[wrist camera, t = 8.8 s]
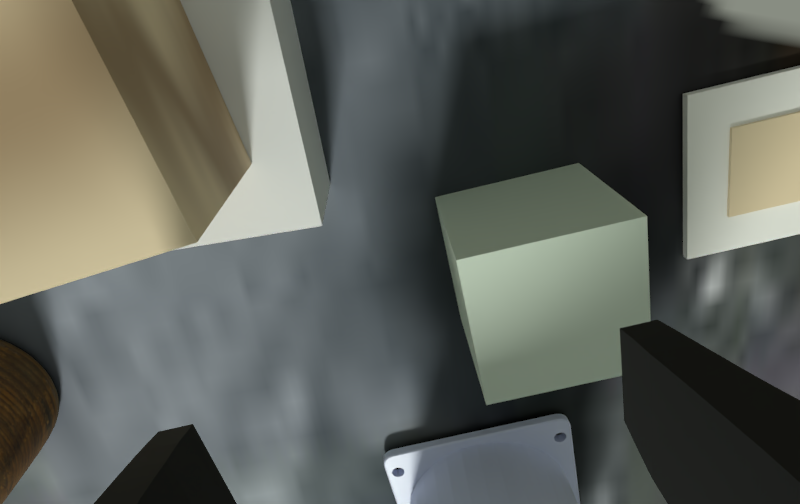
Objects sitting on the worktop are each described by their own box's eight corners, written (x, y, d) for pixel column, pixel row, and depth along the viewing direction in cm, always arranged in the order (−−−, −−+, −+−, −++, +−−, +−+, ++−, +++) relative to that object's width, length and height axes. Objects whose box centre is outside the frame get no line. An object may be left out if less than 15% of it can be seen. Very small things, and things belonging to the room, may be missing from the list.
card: (846, 218, 20) (856, 222, 19) (682, 256, 20) (689, 261, 20) (870, 48, 17) (882, 49, 17) (682, 93, 17) (689, 95, 17)
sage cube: (589, 287, 20) (651, 369, 16) (460, 316, 21) (486, 405, 16) (578, 162, 18) (647, 216, 14) (434, 196, 19) (456, 260, 14)
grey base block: (331, 180, 18) (322, 225, 15) (72, 223, 19) (1, 278, 15) (262, -136, 15) (227, -180, 11) (-64, -80, 15) (-204, -105, 11)
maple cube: (251, 163, 14) (196, 242, 9) (75, 220, 14) (-60, 322, 10) (158, -49, 12) (30, -79, 7) (-46, 24, 12) (-290, 38, 8)
